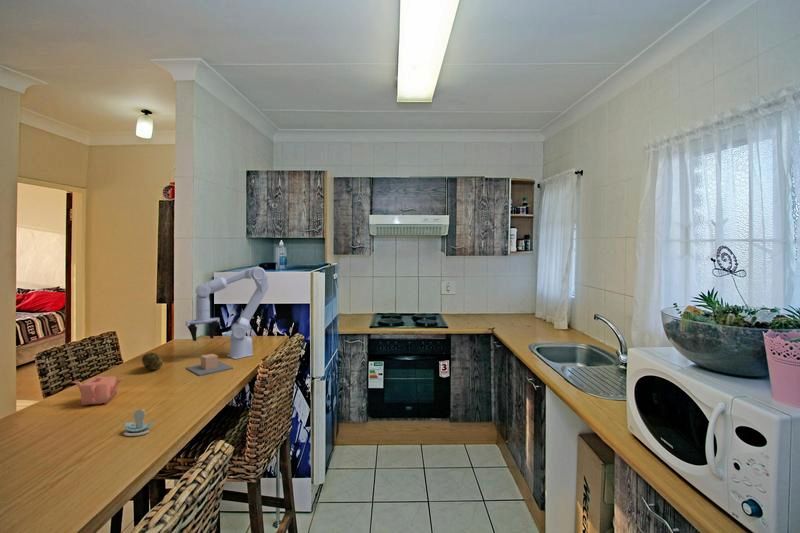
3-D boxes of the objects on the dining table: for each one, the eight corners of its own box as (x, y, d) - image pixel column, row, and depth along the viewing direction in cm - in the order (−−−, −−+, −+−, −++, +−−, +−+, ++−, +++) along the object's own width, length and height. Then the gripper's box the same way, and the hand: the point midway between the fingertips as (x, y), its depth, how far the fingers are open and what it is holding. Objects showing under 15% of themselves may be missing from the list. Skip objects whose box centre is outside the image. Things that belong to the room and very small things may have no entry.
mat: (218, 362, 185) (218, 360, 185) (233, 368, 176) (233, 367, 175) (185, 368, 174) (185, 367, 174) (199, 376, 165) (199, 374, 165)
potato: (170, 365, 179) (170, 347, 179) (156, 374, 166) (155, 355, 166) (150, 365, 178) (150, 347, 178) (134, 374, 165) (134, 355, 165)
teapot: (118, 405, 134) (118, 381, 134) (64, 410, 130) (63, 384, 129) (130, 393, 146) (130, 370, 145) (81, 397, 141) (80, 373, 141)
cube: (212, 364, 179) (212, 353, 178) (217, 367, 175) (217, 355, 175) (200, 367, 175) (200, 355, 175) (205, 369, 172) (205, 358, 171)
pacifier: (146, 437, 114) (156, 427, 120) (146, 415, 113) (155, 406, 119) (118, 438, 113) (129, 428, 118) (117, 416, 112) (128, 407, 118)
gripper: (214, 307, 195) (215, 335, 196) (182, 310, 185) (183, 340, 185) (221, 309, 191) (221, 338, 191) (189, 312, 180) (189, 343, 181)
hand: (203, 339), depth 188 cm, fingers open, 7 cm apart
